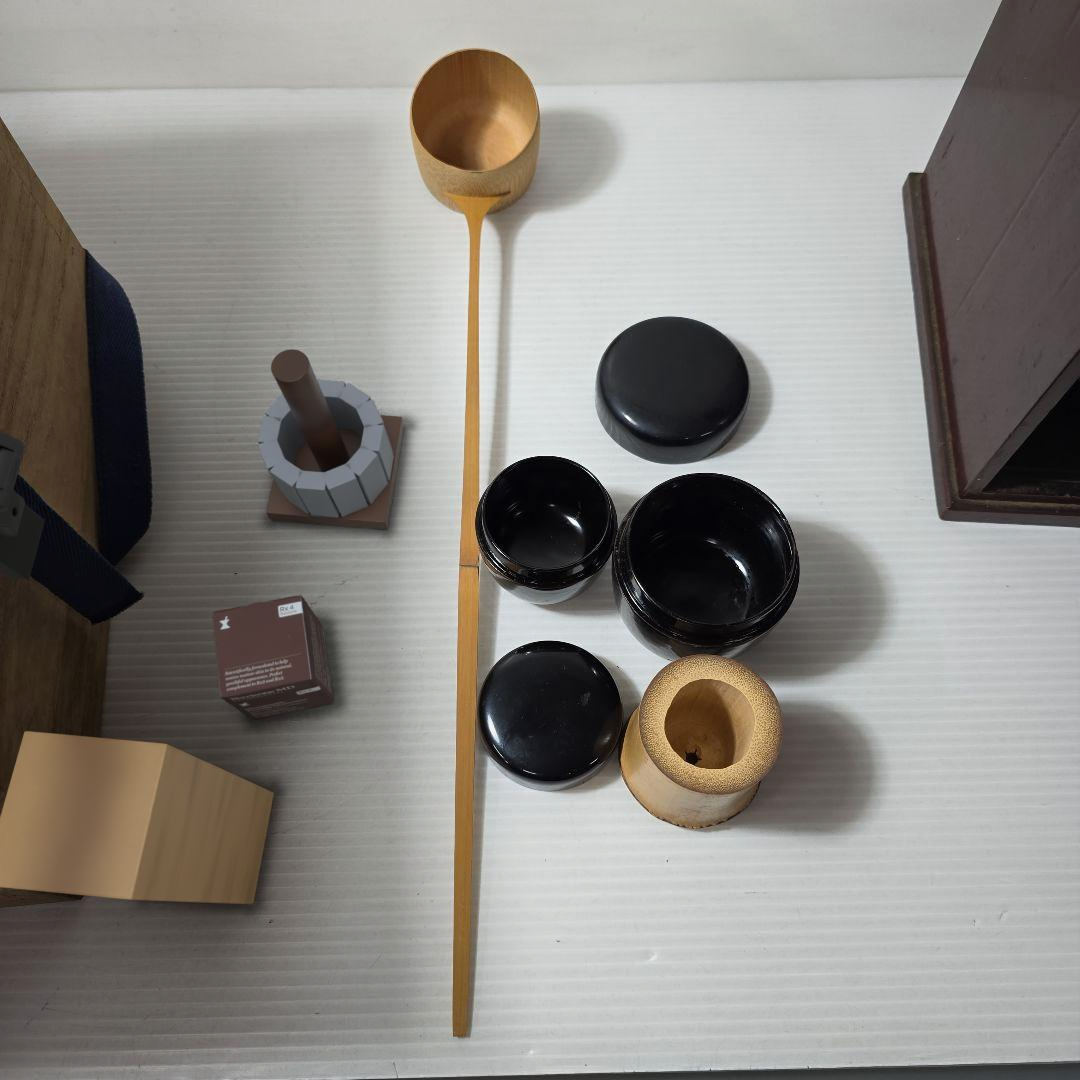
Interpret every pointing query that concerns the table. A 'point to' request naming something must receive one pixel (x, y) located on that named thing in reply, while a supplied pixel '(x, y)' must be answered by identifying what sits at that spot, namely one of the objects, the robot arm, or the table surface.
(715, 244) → the table surface
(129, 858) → the stand
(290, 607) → the box
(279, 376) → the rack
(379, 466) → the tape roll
